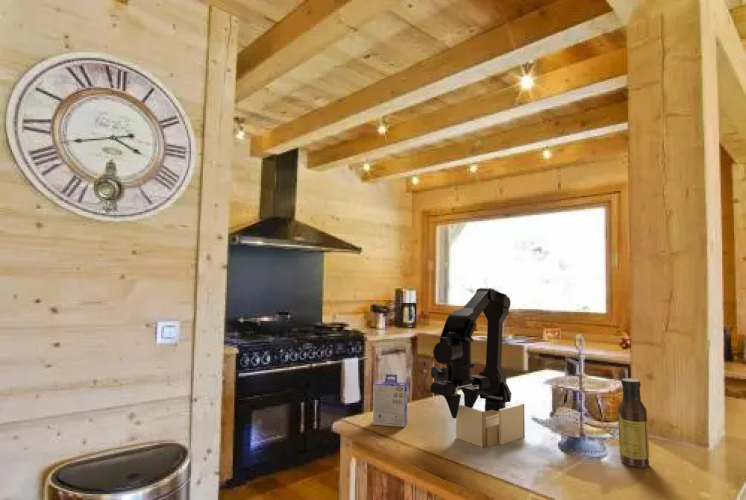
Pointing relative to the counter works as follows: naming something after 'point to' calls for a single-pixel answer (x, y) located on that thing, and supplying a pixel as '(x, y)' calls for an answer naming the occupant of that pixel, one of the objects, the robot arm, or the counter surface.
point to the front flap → (471, 425)
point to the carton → (492, 427)
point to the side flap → (511, 423)
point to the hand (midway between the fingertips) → (460, 416)
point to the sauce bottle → (633, 426)
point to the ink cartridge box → (390, 402)
